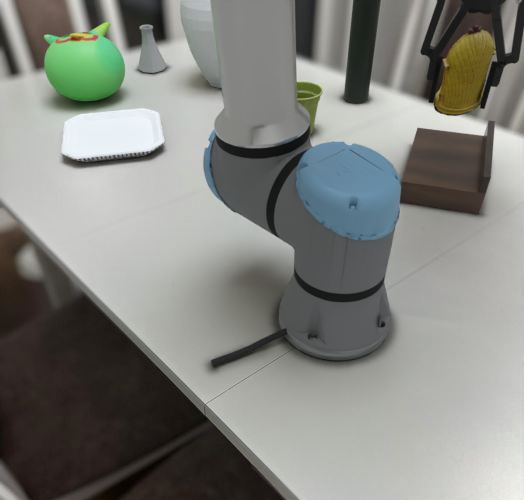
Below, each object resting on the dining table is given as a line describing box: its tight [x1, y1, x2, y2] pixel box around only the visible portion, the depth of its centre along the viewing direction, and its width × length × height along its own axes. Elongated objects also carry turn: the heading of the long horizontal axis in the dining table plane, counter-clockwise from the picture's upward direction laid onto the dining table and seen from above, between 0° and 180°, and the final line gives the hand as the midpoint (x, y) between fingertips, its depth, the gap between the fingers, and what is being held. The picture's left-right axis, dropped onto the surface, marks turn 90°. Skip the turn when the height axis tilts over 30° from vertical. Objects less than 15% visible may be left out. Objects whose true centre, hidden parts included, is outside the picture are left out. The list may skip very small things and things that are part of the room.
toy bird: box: [43, 21, 126, 102], centre depth 123 cm, size 18×17×15 cm
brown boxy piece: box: [400, 120, 496, 215], centre depth 98 cm, size 22×14×7 cm, turn 162°
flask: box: [137, 24, 168, 74], centre depth 137 cm, size 7×7×10 cm
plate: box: [60, 107, 166, 163], centre depth 112 cm, size 21×21×2 cm
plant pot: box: [297, 80, 324, 135], centre depth 111 cm, size 9×9×9 cm
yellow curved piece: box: [433, 24, 496, 117], centre depth 86 cm, size 12×8×15 cm
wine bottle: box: [343, 0, 382, 104], centre depth 115 cm, size 6×6×30 cm
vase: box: [179, 0, 222, 89], centre depth 124 cm, size 18×18×25 cm
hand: (456, 102), depth 90 cm, fingers closed on yellow curved piece, 8 cm apart
